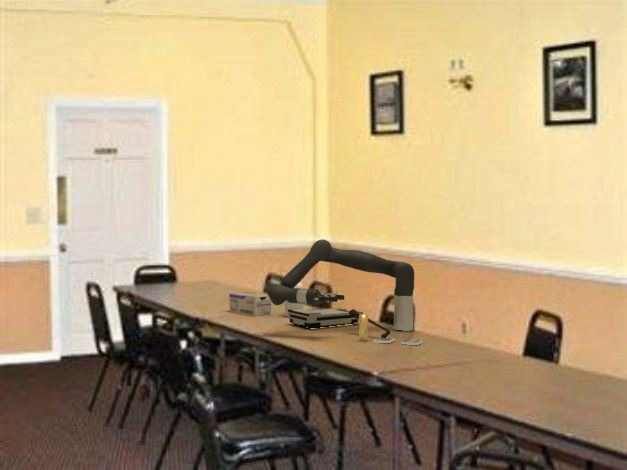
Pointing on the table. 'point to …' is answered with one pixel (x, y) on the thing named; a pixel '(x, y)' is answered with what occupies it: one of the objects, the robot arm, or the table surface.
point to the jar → (293, 305)
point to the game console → (321, 317)
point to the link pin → (363, 327)
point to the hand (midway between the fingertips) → (340, 298)
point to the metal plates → (406, 341)
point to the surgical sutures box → (250, 304)
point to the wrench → (356, 315)
